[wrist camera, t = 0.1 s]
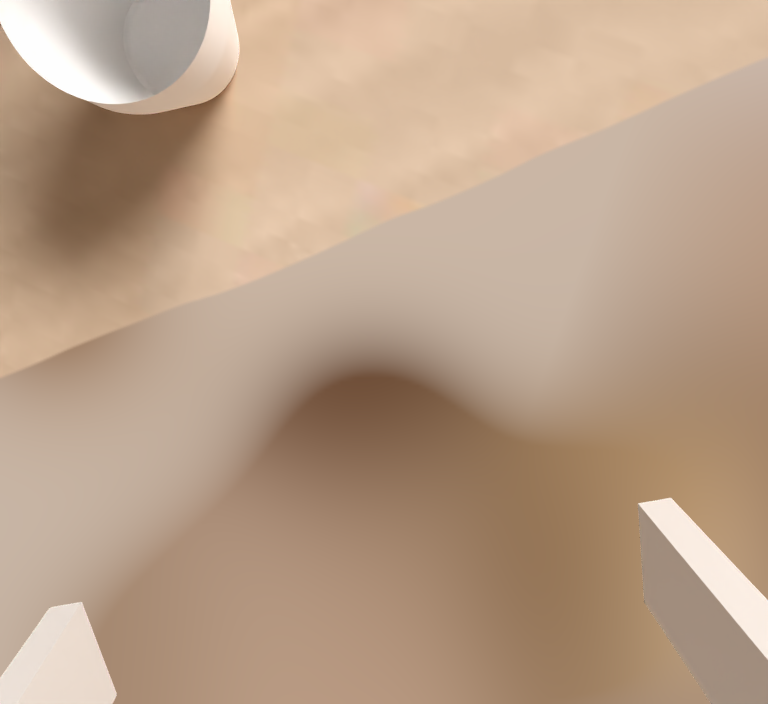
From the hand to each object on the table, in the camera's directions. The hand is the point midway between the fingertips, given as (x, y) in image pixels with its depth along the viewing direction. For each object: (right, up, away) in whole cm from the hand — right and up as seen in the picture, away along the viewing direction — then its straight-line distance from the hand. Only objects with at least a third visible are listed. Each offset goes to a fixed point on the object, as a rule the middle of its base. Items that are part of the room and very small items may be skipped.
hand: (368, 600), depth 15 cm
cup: (-11, +24, +22) cm, 34 cm away
